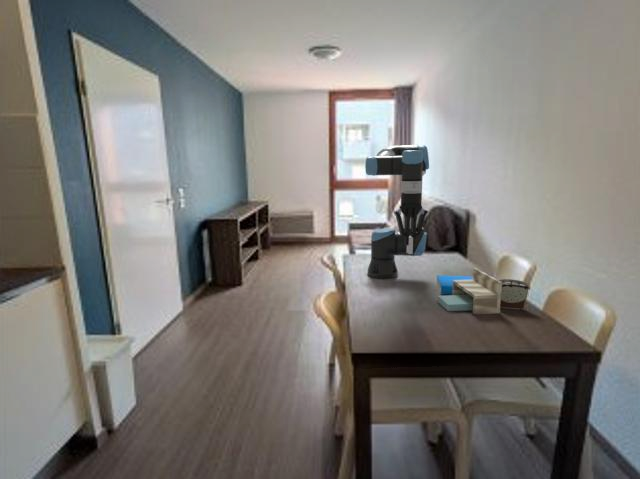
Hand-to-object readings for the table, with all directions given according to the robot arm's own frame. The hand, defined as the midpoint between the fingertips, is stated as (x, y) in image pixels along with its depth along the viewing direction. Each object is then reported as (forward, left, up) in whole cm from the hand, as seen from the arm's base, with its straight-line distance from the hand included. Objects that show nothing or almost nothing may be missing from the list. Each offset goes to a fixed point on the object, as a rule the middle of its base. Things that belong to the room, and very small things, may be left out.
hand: (409, 253), depth 149 cm
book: (-14, +32, -22) cm, 41 cm away
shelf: (+4, +25, -21) cm, 33 cm away
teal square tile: (+4, +19, -21) cm, 29 cm away
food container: (+7, +38, -21) cm, 44 cm away
